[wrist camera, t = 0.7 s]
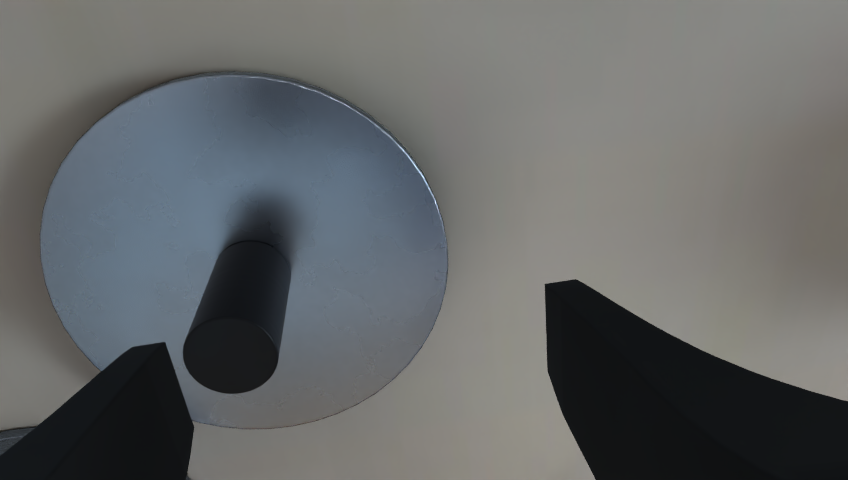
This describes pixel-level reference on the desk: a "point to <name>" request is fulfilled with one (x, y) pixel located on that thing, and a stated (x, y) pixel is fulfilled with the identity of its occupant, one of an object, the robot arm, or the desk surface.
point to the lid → (247, 246)
